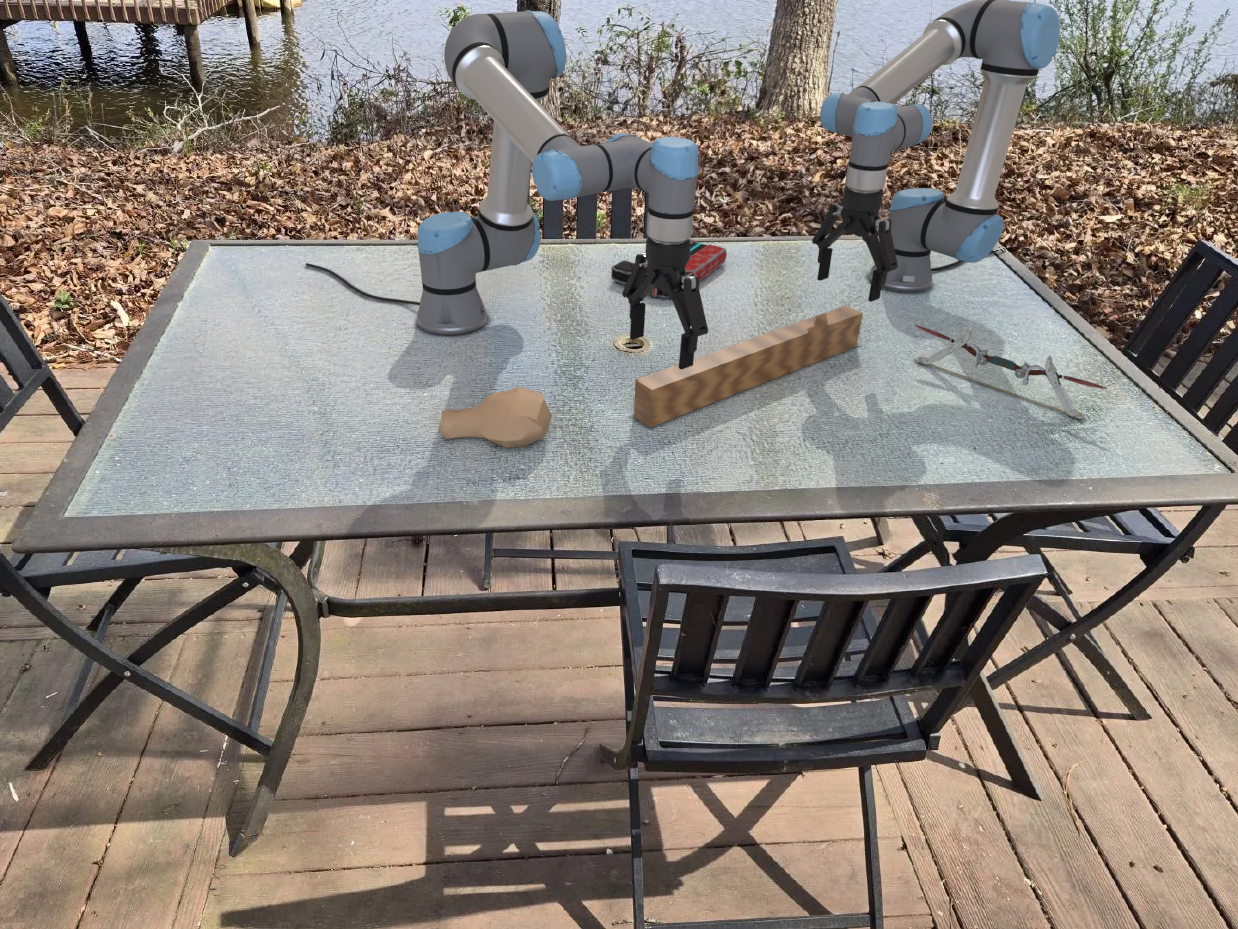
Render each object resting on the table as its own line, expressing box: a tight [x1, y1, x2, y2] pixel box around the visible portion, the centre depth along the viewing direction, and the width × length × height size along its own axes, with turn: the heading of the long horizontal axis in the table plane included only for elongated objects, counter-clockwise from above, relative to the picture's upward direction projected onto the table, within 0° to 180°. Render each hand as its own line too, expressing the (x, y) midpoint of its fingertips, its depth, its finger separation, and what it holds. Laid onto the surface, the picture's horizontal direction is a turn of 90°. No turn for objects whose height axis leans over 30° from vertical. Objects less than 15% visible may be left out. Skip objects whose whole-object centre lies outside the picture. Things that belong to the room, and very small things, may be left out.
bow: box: [914, 324, 1108, 420], centre depth 174 cm, size 39×2×10 cm, turn 47°
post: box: [633, 305, 864, 428], centre depth 176 cm, size 59×5×8 cm, turn 128°
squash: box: [438, 387, 553, 449], centre depth 154 cm, size 11×20×9 cm, turn 90°
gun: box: [610, 238, 728, 299], centre depth 222 cm, size 4×31×19 cm
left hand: (660, 351), depth 157 cm, fingers open, 13 cm apart
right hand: (847, 289), depth 184 cm, fingers open, 13 cm apart
